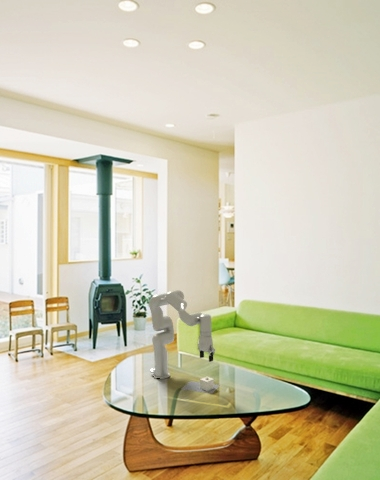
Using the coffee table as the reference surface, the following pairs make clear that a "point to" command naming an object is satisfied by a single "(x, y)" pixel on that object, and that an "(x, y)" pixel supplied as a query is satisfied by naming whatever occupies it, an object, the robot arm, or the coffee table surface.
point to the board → (198, 387)
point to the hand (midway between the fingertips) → (206, 359)
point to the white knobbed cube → (206, 383)
